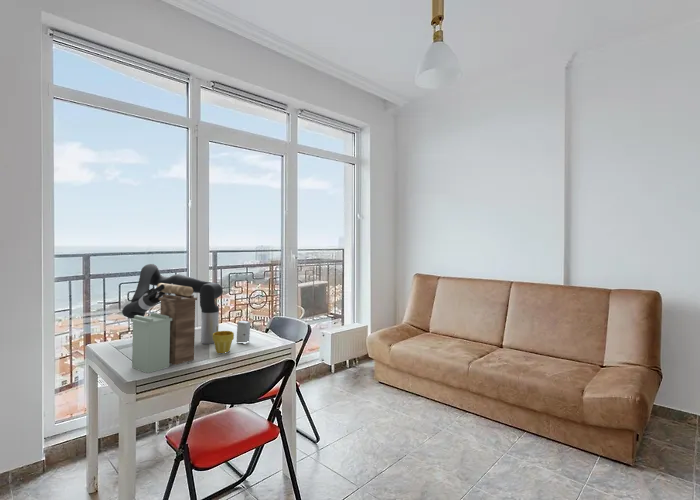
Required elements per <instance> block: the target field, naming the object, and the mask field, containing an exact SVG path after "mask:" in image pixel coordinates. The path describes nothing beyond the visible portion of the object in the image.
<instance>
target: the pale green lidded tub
mask: <svg viewBox="0 0 700 500" xmlns="http://www.w3.org/2000/svg"><path fill="white" fill-rule="evenodd" d="M170 321H172V318H169V316H166V315H162V314H160V313H156V312H151V313H150V315H146V316H145V315H144V316H139V315H135V316H134V318H133V319H130V322H131V323H132V341H131V342H132V344H131V345H132V347H131V348H132V350H131V351H132V352H131V353H132V354H131V368H132V369H135V370H138V371H140V372H143V373H146V374H150V373H152V372H156V371H159V370H164V369H166V368H169V367H170V363H169V352H170Z"/></svg>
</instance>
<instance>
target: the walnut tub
mask: <svg viewBox="0 0 700 500" xmlns="http://www.w3.org/2000/svg"><path fill="white" fill-rule="evenodd" d="M159 300H161V301H160V313H159V314H162V315H166V316H169V318H172V321H170V352H169V365H174V366H177V365H180V364H185V363H187V362H191V361H194V360H195V335H196V334H195V333H196V332H195V331H196V330H195V329H196V328H195V327H196V301H197V300H198V297H196V296H195V295H194V294H192V295H191V296H183V295H177V294H175V295H174V294H171V295H168V294H164V295H163V297H159Z"/></svg>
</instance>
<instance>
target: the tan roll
mask: <svg viewBox="0 0 700 500" xmlns="http://www.w3.org/2000/svg"><path fill="white" fill-rule="evenodd" d="M161 284H164V289H163V290H161V291H160V292H164V293H171V295H176V294H177V295H183V296H191V295H194V293H193V288H192V287H188V286H180V285H173V284H165V283H159V284H158V285H157V286H156V287H159V286H160V285H161Z"/></svg>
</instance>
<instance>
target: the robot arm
mask: <svg viewBox="0 0 700 500" xmlns="http://www.w3.org/2000/svg"><path fill="white" fill-rule="evenodd" d="M159 283H165V284H173V285H180V286H188V287H192V288H193V294H194V293H195V294H199V307H200V309H201V312H200V313H201V314H200V317H201V319H200V321H201V322H200V343H201V344H205V345H210V344H211V345H212V344H214V341H213V333H215V332H218V331H219V321H220V320H219V318H220V317H219V316H220V315H219V314H220V313H219V312H220V307H219V306H218V305H217V304H216V301H215V300H216V299H218V298H220V297H221V296H222V294H223V293H224V292H223V287H222V286H221V284H219V283H217V282H211V281H207V280H206V281H205V280H200V279H197V278H194V277H191V276H188V275H183V274H180V273H179V274H172V275H171V276H164V275H161V273H160V270H159V267H158V266H157V265H156V264H154V263H149V264H145V265H144V266H142V268H141V270H140V274H139V278H138V283H137V287H136V289H135V292H134V294H133V296H132V298H131V301H130V302H129V303H128V304H127V303H126V305H125V306H124V307H123V308H122V310H121V313H122V315H123V316H124V317H126V318H127V319H129V320H131V319H133V318H134V316H135V315H139V316H144V317H145V315H146V312H148V311H149V310H150V309H152V308H154V307H155V306H156V305H157V304H159V303H161V300H159V297H163V295H164V294H167V295H172V294H171V293H164V292H160V291H161V290H163V289H164V284H161V285H160V286H159V287H157V285H158V284H159ZM150 285H151V286H156V287H152V288H151V287H150Z"/></svg>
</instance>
